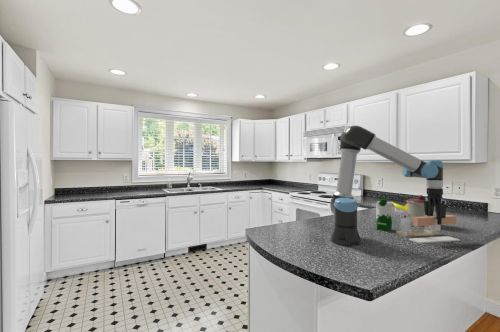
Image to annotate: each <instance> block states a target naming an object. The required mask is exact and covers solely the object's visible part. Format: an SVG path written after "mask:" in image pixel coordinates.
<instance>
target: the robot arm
mask: <svg viewBox="0 0 500 332" xmlns="http://www.w3.org/2000/svg"><path fill="white" fill-rule="evenodd" d="M339 142H340V143H339V145H340V146H339V151H340V152H341V155H340V156H341V157H340V164H339V169H338V177H337V183H336V191H334V193H333V194H332V199H331V200H332V201H331V202H330V211H331V212H332V214H333V215H334V220H333V221H334V225H333V226H334V227H333V229H332V233H331V236H330V241H331V242H332V243H334V244H336V245H340V246H346V247H348V246H349V247H352V246H353V247H354V246H359V245H361V237H360V234H359V231H358V202H357V200H355V199H354V195H353V194H352V191H353V185H354V179H355V178H354V177H355V172H356V171H355V170H356V164H357V156H358V154H360V152H361V149H363V150H365V151H366V150H369V151H370V152H372V153H374V154H376V155H378V156H380V157H382V158H385V159H386V160H388V161H390V162H392V163H394V164H396V165H398V166H399V167H401V168H402V175H403V176H404V177H405V178H421V179H426V187H427V188H426V195H427V196H426V197H424V198H423V201H424V209H425V215H427V216H433V213H436V216H437V218H436V219H435V230H436V232H439V231H441V230H442V229H441V228H442V227H441V226H442V225H441V224H442V218H445V217H446V214H447V204H448V200H445V199H444V198H443V195H444V189H443V187H444V163H443V160H441V159H440V160H438V159H437V160H435V159H434V160H433V159H432V160H426V161H424V160H421V159H420V158H419V157H416V156H415V155H412V154H411V153H408V152H406V151H404V150H402V149H401V148H399V147H396V146H394V145H393V144H391V143H389V142H386V141H385V140H383V139H381V138H379V137H377V136H376V134H375V133H374V132H371V131H370V130H368V129H366V128H364V127H362V126H360V125H352V126H349V127H347V128H346V129H345V130H343V131H342V133H341V134H340V136H339ZM434 206H435V211H434ZM429 229H434V225H432V226H429Z"/></svg>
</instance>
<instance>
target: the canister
mask: <svg viewBox="0 0 500 332" xmlns="http://www.w3.org/2000/svg"><path fill="white" fill-rule="evenodd" d="M423 198H425V196H424V195H423V194H422V195H421V194H420V195H418V196H417V198H409V199H407V200H406V201H405V202H406V204H408V213H409V214H411V225H413V217H424V212H425V209H424V201H423ZM434 212H436V210H435V206H434Z"/></svg>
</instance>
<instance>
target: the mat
mask: <svg viewBox="0 0 500 332" xmlns="http://www.w3.org/2000/svg"><path fill="white" fill-rule="evenodd" d="M408 240H409V241H411V242H413V243H417V244H420V245H421V244H435V243H438V244H439V243H451V242H452V241H453V242H461V239H459V238H456V237H452V236H450V235H449V236H448V235H447V236H445V235H443V236H426V237H413V238H412V237H409V238H408Z"/></svg>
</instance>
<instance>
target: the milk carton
mask: <svg viewBox="0 0 500 332" xmlns="http://www.w3.org/2000/svg"><path fill="white" fill-rule="evenodd" d="M392 202H393V201H388V200H387V199H386V198H379V201H377V202H376V203H375V204H376V208H375V209H376V210H375V211H376V212H375V213H376V221H375V222H376V223H375V224H376V230H378V231H385V232H389V231H391V230H392V228H393V227H392V226H393V203H392Z"/></svg>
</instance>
